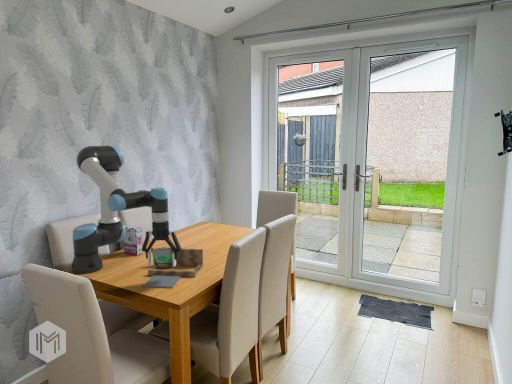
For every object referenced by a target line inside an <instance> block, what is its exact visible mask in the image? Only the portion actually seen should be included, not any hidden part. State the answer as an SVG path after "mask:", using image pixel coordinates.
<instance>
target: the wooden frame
mask: <svg viewBox="0 0 512 384" xmlns="http://www.w3.org/2000/svg"><path fill="white" fill-rule="evenodd" d="M181 249H182V250H181V251H180V252H178V258H177V259H176V266H184V267H185V266H186V267H187V266H188V267H189V266H190V267H193V266H194V267H195V268H194V270H173V269H165V270H160V269H156V268H155V267H153V268H152V269H148V270H147V272H148V273H147V274H148V277H149V276H151V277H152V276H153V275H179V276H181V278H182V277H183V278H186V277H187V278H188V277H190V278H195V277H196V276H197V275H198V274H199V272H200V271H201V270H202V267H203V266H204V249H202V248H181Z"/></svg>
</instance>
